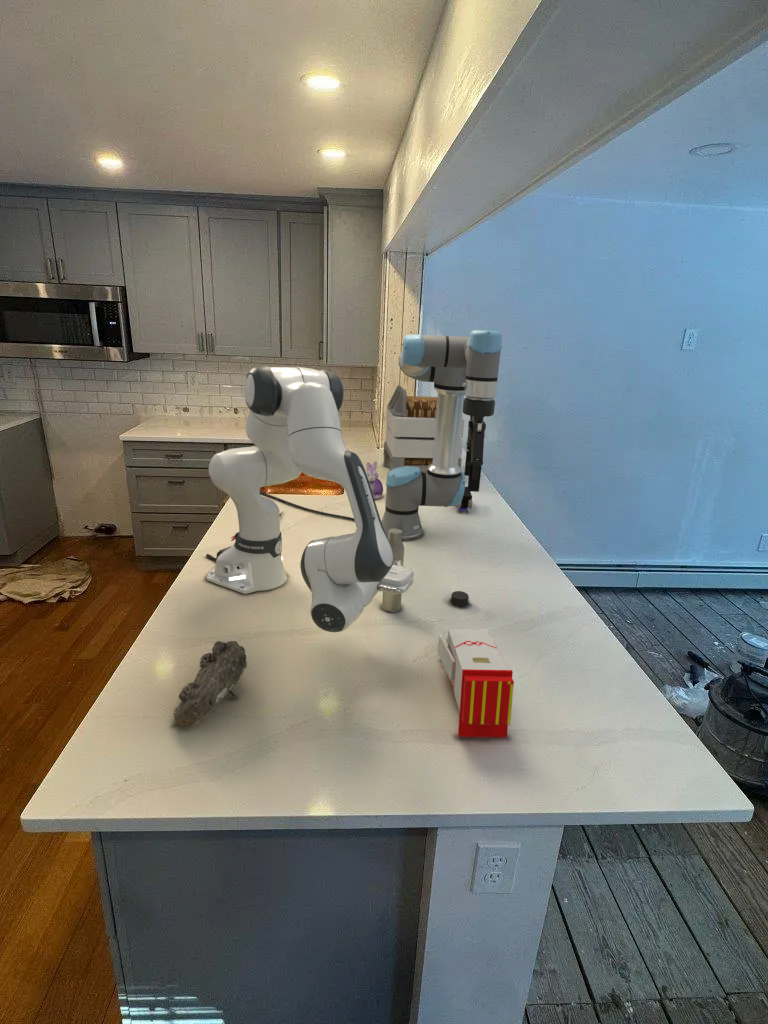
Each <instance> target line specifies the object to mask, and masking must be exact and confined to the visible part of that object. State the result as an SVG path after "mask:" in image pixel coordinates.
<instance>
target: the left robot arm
mask: <svg viewBox="0 0 768 1024" xmlns="http://www.w3.org/2000/svg"><path fill="white" fill-rule="evenodd" d="M243 396H244V400H245V404H246V406H247V408H248V409H249V411H248V414H247V418H246V423H245V432H246V436H247V438H248V440H249V441H250V442H251V443H252V444H254V445H252V446H245V447H235V448H229V449H226V450H223V451H220V452H217V453H215V454H214V455H212V457H211V458H210V462H209V464H208V475H209V478H210V481H211V482H212V484H213V485H214V486H215V487H216V488H217V489H218V490H220V491H222V492H223V493H225V494H226V495H227V496H228V497H229V498H230V499H231V500H232V502H233V503H234V505H235V508H236V509H235V510H236V513H237V519H238V531H237V532H236V533H235V534H234V535H233V536H231V537H230V541H231V542H233V541H234V544H232V545H229V546H227V547H225V548H222V549H219V551H217V552H216V557H214V556H213V555H211V554H209V553H206V555H205V556H206V557H207V558H208V559H210V560H211V561H213V562H215V564H214V567H213V568H212V569H210V571H208V573H207V575H206V580H207V581H208V582H210V583H213V584H216V585H219V586H221V587H224V588H227V589H230V590H233V591H235V592H238V593H240V594H245V595H246V594H250V593H254V592H260V591H269V590H273V589H276V588H279V587H281V586H283V584H285V583H286V581H287V580H288V579H287V578H288V577H287V574H286V571H285V567H284V563H283V560H284V558H283V556H282V552H283V551H282V550H283V537H282V532H281V521H280V520H281V519H280V518H281V516H280V514H281V512H280V508H279V506H278V504H277V503H276V502H275V501H273V500H272V499H271V498H269V497H265V496H263V495H262V494H260V492H261V488H262V487H270V486H275V485H282V484H285V483H288V482H290V481H294V480H296V479H298V478H299V477H300V476H301V474H304V475H306V476H308V477H311V478H315V479H317V480H323V481H327V482H328V481H329V482H332V483H337V484H338V485H340V486H341V487H342V488H343V490H344V491H345V494H346V496H347V499H348V503H349V506H350V509H351V512H352V516H353V518H354V520H355V521H354V520H353V521H354V524H355V527H356V529H355V532H353V533H352V532H351V533H347V534H342V535H335V536H327V537H323V538H318V539H313V540H311V541H309V542H308V544H306V545H305V548H304V550H303V552H302V555H301V559H300V564H299V565H300V572H301V576H302V579H303V581H304V583H305V584H306V586H307V588H308V589H309V591H310V593H311V606H310V616H311V619H312V621H313V623H314V625H316V626H317V627H318V628H319V629H321V630H323V631H325V632H327V633H328V632H329V633H341V632H343V631H345V630H346V629H348V628H349V627H350V626H351V625H353V624H354V623H355V622H356V621H357V619H358V618H359V617H360V616H361V614H362V613H363V612H364V610H365V608H366V607H367V606H368V605H369V604H370V603H371V602H372V600H373V599H374V598H375V596H376V595H377V594H378V593H379V592H382V593H383V592H387V593H392V594H401V593H402V594H403V593H405V592H407V591H408V589H410V587H411V586H412V585H413V584H414V579H415V578H414V577H415V571H414V570H413V568H411V567H406V566H403V567H402V566H401V561H400V560H395V561H394V558H393V551H392V548H391V545H390V542H389V540H388V537H387V535H386V533H385V530H384V528H383V525H382V523H381V522H382V519H381V516H380V513H379V509H378V506H377V503H376V501H375V500H376V499H374V496H373V493H372V490H371V487H370V484H369V480H368V477H367V474H366V469H365V466H364V464H363V463H362V460H361V459H360V457H359V456H358V454H357V453H356V452H353V451H350V450H349V448H348V447H347V445H346V443H345V441H344V437H343V432H342V424H341V420H340V419H341V418H340V415H339V411H340V409H341V408H342V405H343V402H344V396H345V394H344V385H343V382H342V380H341V379H340V377H339V375H338V374H337V373H334V372H332V371H330V370H326V369H321V370H319V369H315V368H309V367H303V366H269V365H262V366H255V367H253V368H251V369H250V371H248V373H247V375H246V377H245V381H244V385H243ZM393 561H394V562H393Z"/></svg>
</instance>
